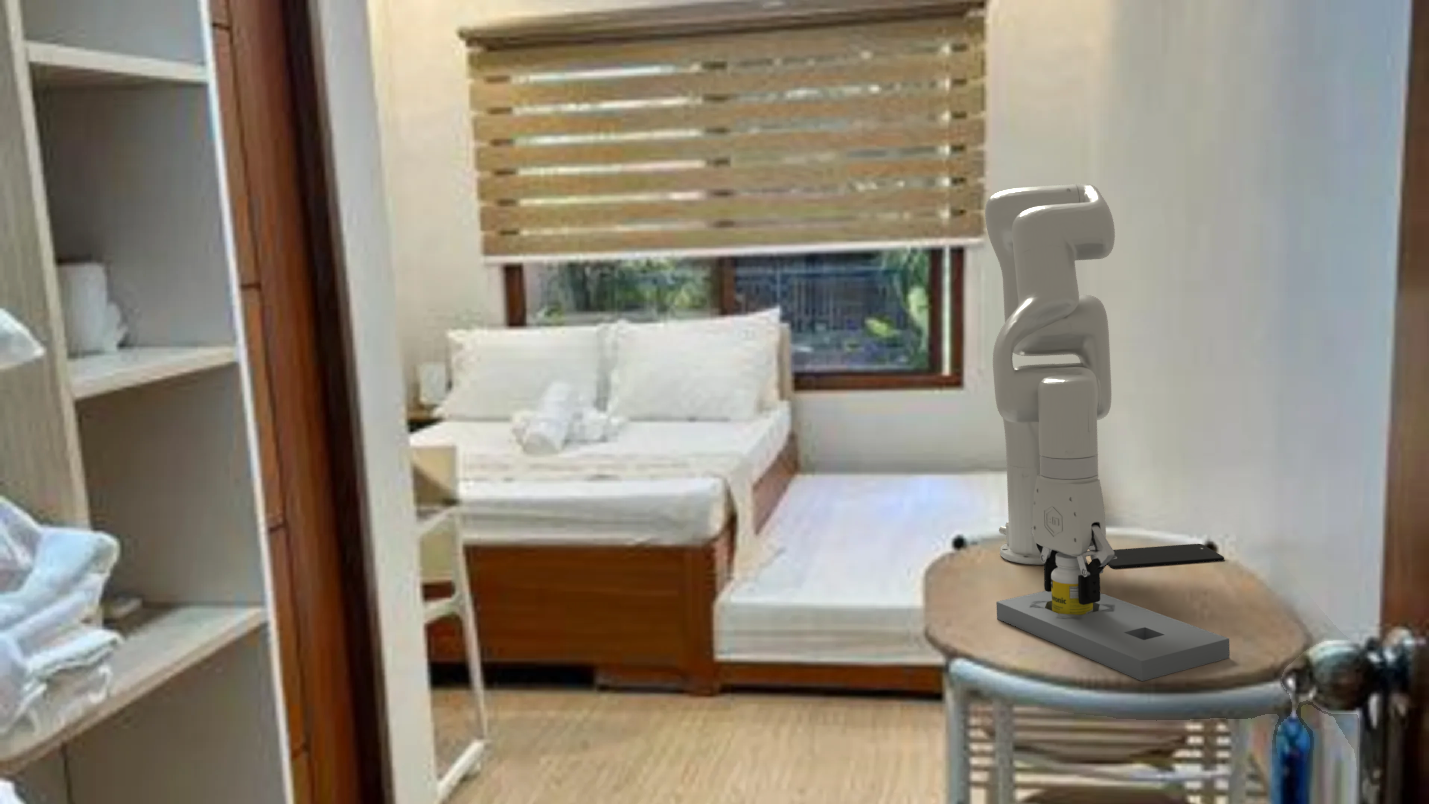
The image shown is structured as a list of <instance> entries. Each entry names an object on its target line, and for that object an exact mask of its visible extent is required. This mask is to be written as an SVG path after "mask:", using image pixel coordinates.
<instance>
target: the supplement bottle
mask: <svg viewBox="0 0 1429 804" xmlns="http://www.w3.org/2000/svg"><path fill="white" fill-rule="evenodd" d="M1056 565H1057V566H1058V568H1056V569H1054V570H1053V571H1052V573H1051V591H1052V611H1053V612H1056V613H1058V614H1073V615H1083V614H1087V613H1092V612H1093V603H1090V604H1086V605H1082V604H1080V603H1079V597H1078V575H1082V573H1081V570H1080V567H1079V563H1078V560H1077V556H1076V557H1075V556H1070V555H1067V554H1064V553H1061V552H1058V553H1057V554H1056Z"/></svg>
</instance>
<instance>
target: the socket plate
mask: <svg viewBox="0 0 1429 804" xmlns="http://www.w3.org/2000/svg"><path fill="white" fill-rule="evenodd" d="M996 619H997V620H998V621H1002V622H1003V621H1004V622H1003V623H1006V624H1008V623H1009V625H1010V624H1011V625H1010V626H1012V627H1015V626H1016V627H1015V628H1016V629H1017V628H1018V629H1020V630H1022V631H1025V632H1027V633H1029V634H1032V635H1034V636H1036V637H1038V638H1040V639H1044V640H1046V641H1047V642H1050V643H1053V644H1054V645H1057V646H1059V647H1061V648H1064V649H1066V650H1069V651H1071V652H1073V653H1075V654H1078V655H1080V656H1083V657H1085V658H1087V659H1089V660H1092V661H1094V662H1097V663H1099V664H1101V665H1103V666H1105V667H1109V668H1110V669H1113V670H1115V671H1118V672H1120V673H1122V674H1124V675H1127V676H1129V677H1131V678H1133V679H1136V680H1139V681H1141V682H1145V681H1148V680H1151V679H1156V678H1159V677H1162V676H1166V675H1171V674H1173V673H1178V672H1181V671H1185V670H1190V669H1192V668H1197V667H1201V666H1204V665H1208V664H1211V663H1215V662H1219V661H1220V662H1221V661H1223V660H1227V659H1230V638H1229V637H1226V636H1223V635H1220V634H1218V633H1216V632H1215V633H1214V632H1212V631H1210V630H1207V629H1204V628H1201V627H1198V626H1195V625H1193V624H1189V623H1187V622H1184V621H1181V620H1178V619H1175V618H1172V617H1170V616H1167V615H1164V614H1162V613H1158V612H1156V611H1153V610H1150V609H1147V608H1145V607H1141V606H1138V605H1136V604H1133V603H1130V602H1128V601H1124V600H1121V599H1120V598H1116V597H1114V596H1111V595H1108V594H1105V593H1101V592H1100V601H1098V602H1094V603H1093V612H1092V613H1087V614H1083V615H1073V614H1058V613H1056V612H1053V611H1052V591H1051V592H1047V591H1045V590H1044V591H1039V592H1034V593H1030V594H1024V595H1022V596H1017V597H1012V598H1007V599H1002V600H999V601H996Z"/></svg>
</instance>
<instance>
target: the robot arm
mask: <svg viewBox="0 0 1429 804" xmlns="http://www.w3.org/2000/svg"><path fill="white" fill-rule="evenodd" d="M984 213H985V214H984V217H985V226H986V231H987V236H988V238H989V241H990V243H991V246H992V248H993V251H994V253H995V255H996V259H997V261H998V262H999V263H998V264H999V267H1000V270H1001V276H1002V288H1003V289H1002V290H1003V308H1004V309H1003V311H1004V323H1003V326H1001V329H1000V331H999V332H998V334H997V335H996V336H997V337H996V339H995V342H994V346H993V352H992V370H993V384H994V385H993V386H994V397H995V403H996V408H997V411H998V413H999V415H1000V416H1001V418H1002V420H1003V421H1002V422H1003V427H1004V438H1005V454H1006V456H1005V458H1006V483H1007V484H1006V487H1007V488H1006V489H1007V514H1008V515H1007V516H1008V517H1007V519H1008V521H1007V522H1006V523H1005V525H1001V526H999V528H998V532H999V534H1001V535H1004V536H1006V543H1004V544H1002V545H1001V546H1000V547H999V555H1000V556H1001V557H1002V558H1003V559H1004V560H1006V561H1009V562H1013V563H1017V564H1021V565H1022V564H1024V565H1035V566H1036V565H1038V566H1040V565H1043V580H1044V581H1043V582H1044V583H1043V586H1044V589H1043V590H1044V591H1047V592H1051V573H1052V571H1053V570H1054V569H1056V568H1058V566H1057V565H1056V554H1057V553H1058V552H1061V553H1064V554H1067V555H1070V556H1075V557H1076V556H1077V560H1078V563H1079V567H1080V570H1081V573H1082V575H1078V597H1079V603H1080V604H1082V605H1086V604H1090V603H1094V602H1098V601H1100V593H1101V574H1103V573H1104V569H1105V568H1106V567H1107V566H1108V565H1107V564H1108V562H1109V561H1110V560H1111V559H1112V558H1113V557H1114V551H1113V550H1114V549H1113V547H1112V546H1111V544H1110V542H1109V541H1108V540H1107V524H1106V523H1107V522H1106V510H1105V504H1104V495H1103V491H1102V484H1101V481H1100V479H1099V458H1098V457H1099V456H1098V455H1099V454H1098V452H1099V451H1098V446H1099V445H1098V421H1099V420H1102V419H1104V418H1105V417H1107V415H1108V414H1109V413H1110V410H1111V405H1112V375H1111V374H1112V373H1111V352H1110V351H1111V350H1110V330H1109V322H1108V321H1109V319H1108V315H1107V311H1106V307H1105V305H1104V304H1103V302H1102V300H1100V299H1099V298H1098V297H1096V296H1094V295H1091V294H1090V295H1089V294H1079V287H1078V278H1077V271H1076V270H1077V269H1076V261H1085V260H1087V261H1088V260H1089V261H1090V260H1091V261H1092V260H1102V259H1105V258H1108V256H1109V255H1110V254H1111V253H1112V251H1113V249H1114V247H1115V246H1114V245H1115V237H1116V235H1115V234H1116V231H1115V230H1116V229H1115V223H1114V219H1113V215H1112V212H1111V209H1110V208H1109V205H1108V203H1107V201H1106V199H1105V198H1104V196H1103V195H1102V193H1101V192H1100V190H1099V189H1098V188H1097V187H1096V186H1095V185H1093V184H1090V183H1071V184H1058V185H1057V184H1056V185H1055V184H1054V185H1038V186H1024V187H1023V186H1021V187H1015V188H1009V189H1004V190H1001V191H998V192H995V193H994V194H992V195H991V196H990V197H989V198H988V199H987V201H986V203H985V209H984ZM1013 354H1014V355H1017V356H1020V357H1021V356H1022V357H1023V356H1024V357H1043V356H1044V357H1046V356H1064V355H1065V356H1067V355H1073V356H1076V357H1077V358H1078V360H1079V362H1069V363H1040V364H1039V363H1038V364H1027V365H1025V364H1024V365H1020V366H1015V367H1014V363H1013V357H1014V356H1013ZM1087 557H1090V560H1091V561H1089V563H1088V559H1087Z"/></svg>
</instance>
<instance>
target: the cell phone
mask: <svg viewBox="0 0 1429 804" xmlns="http://www.w3.org/2000/svg"><path fill="white" fill-rule="evenodd" d="M1113 551H1114V557H1113V558H1112V559H1111V560H1110V561H1109V562H1108V564H1107V566H1108V567H1109V568H1110V569H1113V570H1117V569H1119V570H1121V569H1133V568H1146V567H1147V568H1148V567H1158V566H1172V565H1173V566H1174V565H1175V566H1176V565H1186V564H1189V565H1190V564H1199V563H1201V564H1202V563H1214V562H1224V561H1225V557H1224V556H1223V555H1221V554H1219V553H1218V552H1216V551H1215V550H1213V549H1212V548H1209V547H1208V546H1206V545H1204V544H1203V543H1187V544H1177V545H1176V544H1175V545H1162V546H1161V545H1160V546H1158V545H1157V546H1146V547H1135V548H1134V547H1133V548H1120V549H1119V548H1118V549H1113Z"/></svg>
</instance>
